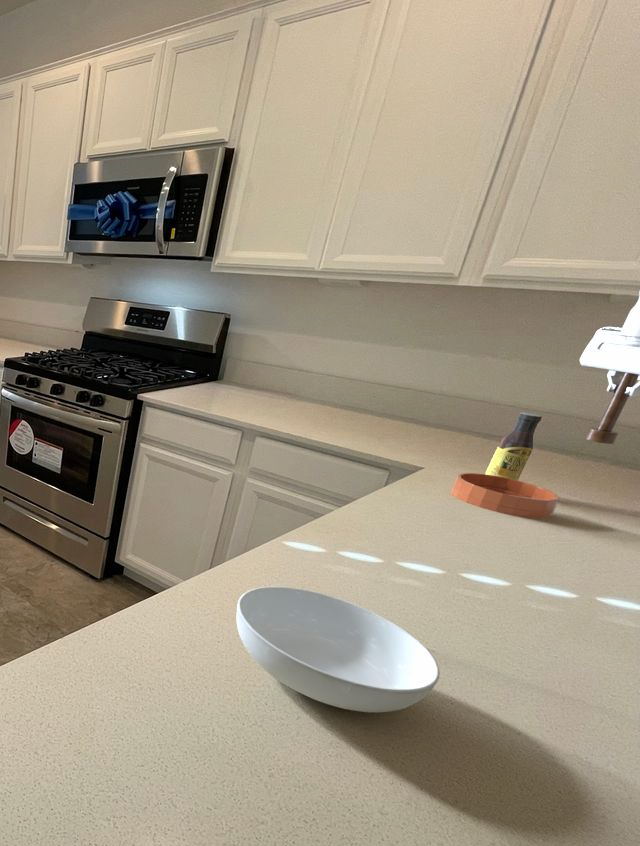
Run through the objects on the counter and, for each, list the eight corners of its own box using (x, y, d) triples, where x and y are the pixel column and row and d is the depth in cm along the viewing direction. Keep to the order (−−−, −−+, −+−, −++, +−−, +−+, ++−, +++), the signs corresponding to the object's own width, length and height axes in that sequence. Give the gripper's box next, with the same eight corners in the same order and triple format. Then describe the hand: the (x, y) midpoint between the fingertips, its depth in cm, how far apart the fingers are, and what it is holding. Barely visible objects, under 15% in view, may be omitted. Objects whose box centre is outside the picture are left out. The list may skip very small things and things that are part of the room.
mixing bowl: (540, 510, 138) (551, 486, 136) (554, 532, 125) (566, 507, 123) (446, 490, 147) (455, 467, 145) (450, 509, 135) (460, 485, 133)
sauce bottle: (491, 491, 149) (524, 415, 142) (474, 482, 155) (504, 409, 148) (520, 494, 148) (554, 418, 141) (501, 485, 154) (533, 412, 147)
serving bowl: (348, 761, 61) (370, 709, 59) (190, 644, 79) (202, 600, 77) (457, 712, 69) (480, 664, 67) (292, 616, 87) (305, 575, 85)
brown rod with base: (601, 439, 132) (638, 364, 126) (619, 444, 128) (658, 367, 122) (579, 437, 133) (614, 362, 127) (595, 442, 129) (633, 365, 123)
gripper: (586, 323, 132) (559, 383, 137) (698, 334, 113) (662, 404, 117) (614, 325, 132) (586, 385, 137) (730, 336, 113) (693, 406, 117)
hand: (622, 394), depth 127 cm, fingers closed on brown rod with base, 2 cm apart
